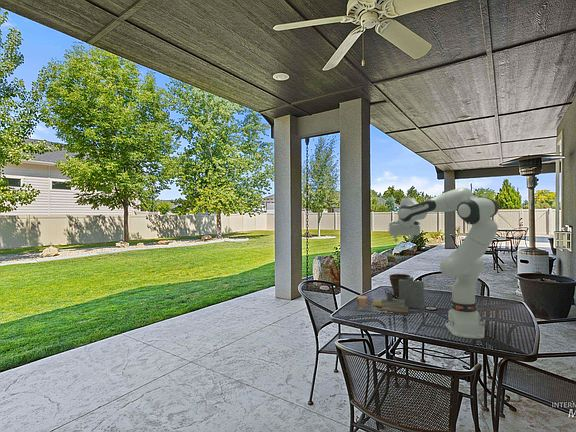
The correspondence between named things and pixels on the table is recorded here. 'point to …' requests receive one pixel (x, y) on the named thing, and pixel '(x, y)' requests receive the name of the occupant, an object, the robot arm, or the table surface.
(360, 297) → the socket block
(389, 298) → the slip tube
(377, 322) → the table surface
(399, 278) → the plant pot
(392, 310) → the sleeve stand
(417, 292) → the hip flask
